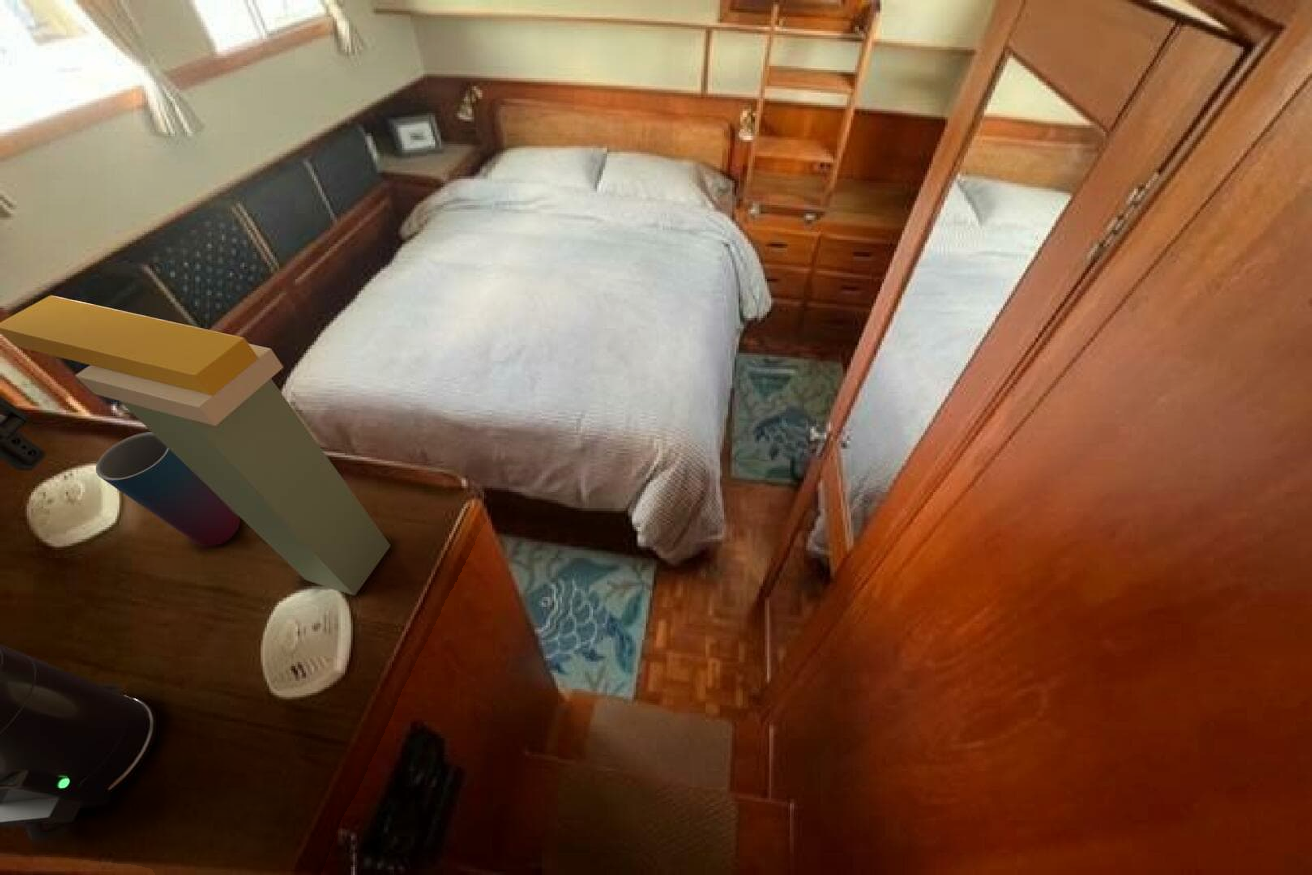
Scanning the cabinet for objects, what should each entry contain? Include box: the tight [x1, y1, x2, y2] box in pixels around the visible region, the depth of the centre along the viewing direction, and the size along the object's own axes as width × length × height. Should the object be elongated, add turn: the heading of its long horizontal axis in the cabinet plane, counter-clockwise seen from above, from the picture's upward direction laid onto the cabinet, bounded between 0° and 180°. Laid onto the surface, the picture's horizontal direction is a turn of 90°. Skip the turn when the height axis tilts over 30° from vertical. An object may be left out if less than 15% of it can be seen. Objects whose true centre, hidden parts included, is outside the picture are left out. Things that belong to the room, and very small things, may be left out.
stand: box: [74, 343, 391, 597], centre depth 54 cm, size 12×7×32 cm, turn 73°
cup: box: [95, 431, 241, 548], centre depth 64 cm, size 7×7×15 cm
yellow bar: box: [0, 295, 258, 395], centre depth 42 cm, size 20×4×2 cm, turn 73°
